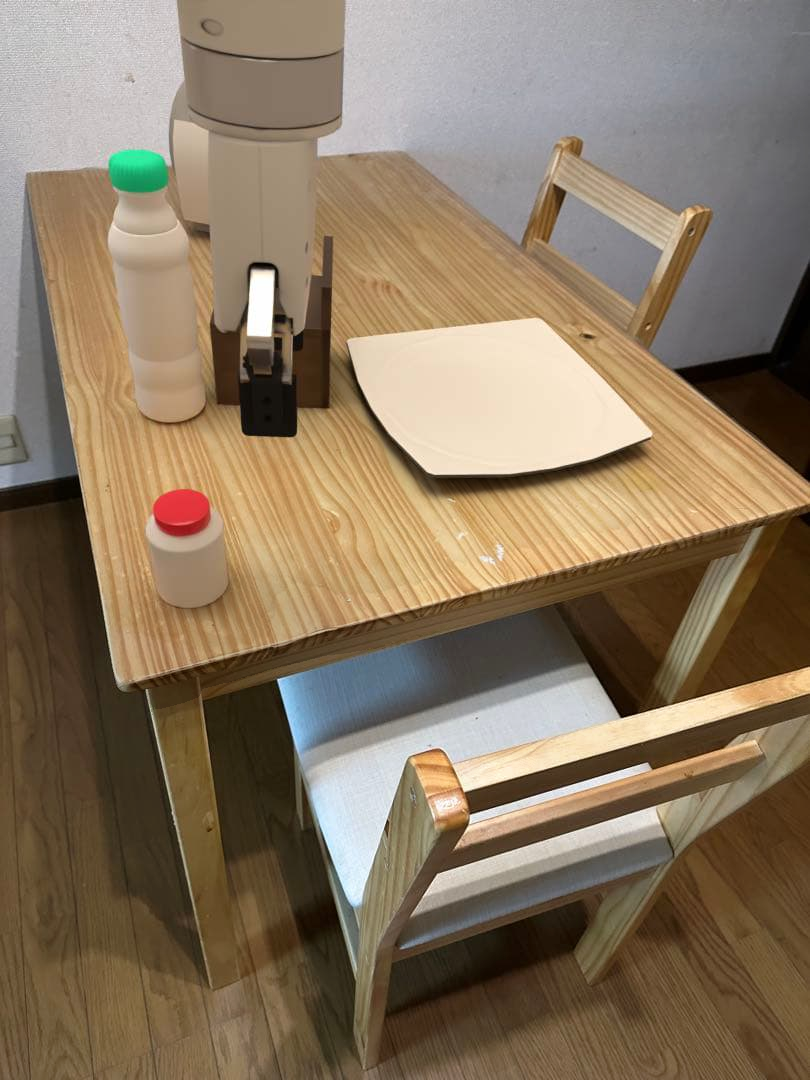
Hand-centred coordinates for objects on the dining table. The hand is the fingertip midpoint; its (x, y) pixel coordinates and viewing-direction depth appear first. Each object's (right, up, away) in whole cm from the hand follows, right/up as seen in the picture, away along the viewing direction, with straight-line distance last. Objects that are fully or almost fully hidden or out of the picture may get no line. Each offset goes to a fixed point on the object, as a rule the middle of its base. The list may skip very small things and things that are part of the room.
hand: (275, 388), depth 49 cm
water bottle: (-16, +4, +33) cm, 37 cm away
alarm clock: (-19, +39, +68) cm, 81 cm away
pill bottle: (-9, -13, +15) cm, 22 cm away
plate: (+18, +6, +38) cm, 43 cm away
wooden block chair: (-6, +9, +39) cm, 40 cm away
